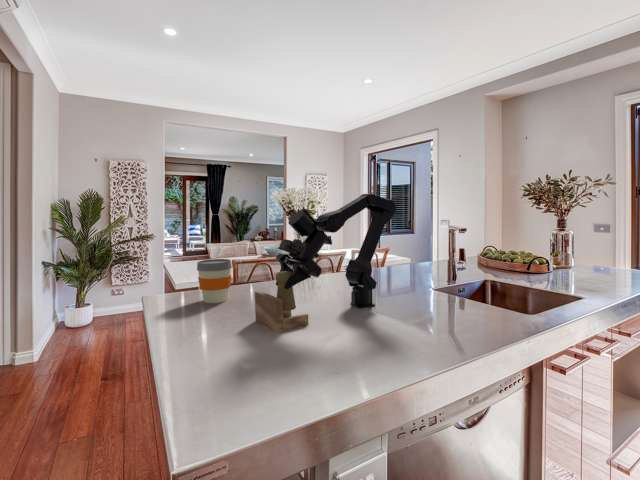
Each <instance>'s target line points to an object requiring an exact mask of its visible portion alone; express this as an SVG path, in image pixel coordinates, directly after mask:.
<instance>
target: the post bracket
mask: <svg viewBox="0 0 640 480" xmlns="http://www.w3.org/2000/svg"><path fill="white" fill-rule="evenodd" d="M254 303H255V304H254V306H255V307H254V308H255V309H254V310H255V321H256V322H257V323H259V324H261V325H262V326H263V327H265V328H267V329H269V330H270V331H271V332H273V333H274V334H281V333H284V331H287V330H290V329H295V328H298V327H303V326H307V325H309V314H308V313H306V312H305V313H301V314H296V315H293V316H292V310H289V311H283V302H282V300H281V299H279V298H277V296H275V295H271V294H269V293H268V292H265V291H262V290H258V291H257V290H256V291H254Z"/></svg>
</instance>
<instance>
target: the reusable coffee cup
mask: <svg viewBox="0 0 640 480" xmlns="http://www.w3.org/2000/svg"><path fill="white" fill-rule="evenodd" d="M196 270H197V272H198V277H197V278H198V284H199V289H200V290H201V293H202V298H203V303H205V304H220V303H221V304H222V303H225V302H226V301H229V292H230V288H231V283H232V274H231V272H232V271H231V270H232V261H231V259H230V258H229V259H226V258H212V259H204V260H199V261H197V263H196Z"/></svg>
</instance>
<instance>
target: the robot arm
mask: <svg viewBox="0 0 640 480" xmlns="http://www.w3.org/2000/svg"><path fill="white" fill-rule="evenodd" d="M365 209H367V210H368V211H370V212H369V213H370V214H369V215H370V219H371V221H370V224H369V226H368V229H367V231H366V234H365V237H364V239H363V242H362V243H361V247H360V249H359V252H358V254H357V257H356V258H355V259H350V260H349V261H348V264H347V266H346V268H345V270H344V271H345V278H346V280H347V282H348V286H350V287H352V289H351V293H350V294H351V296H350V297H351V298H350V299H351V301H350V305H352V306H354V307H356V308H358V309H359V308H360V309H361V308H366V307H367V308H368V307H373V306H376V303H374V302H373V290H375V289H376V288H377V284H378V283H377V281H376V279H374V278H373V276H372V273H373V267H372V260H373V258H374V254H375V252H376V250H377V247H378V244H379V242H380V239H381V236H382V234H383V230H384V228H385V226H386V225H387V224H388V223H389V222H391V220H392V219H393V217H394V215H395V213H396V211H397V206H396V203H395V202H394V200H392V199H387V198H385V197H381V196H377V194H373V193H363V194H361V195H359V196H358V197H357V198H355V199H354V200H352V201H350V202H348V203H346V204H345V205H344V206H342V207H340V208H339V209H336V210H333V211H328V212H326V213H323V214H320V215H318V217H317V218H314V217H313V216H312V215H311V214H310V213H309V211H308V210H307V209H306V208H301V209H300V210H299V211H297V212H295V214H293V215H291V217H289V220H288V224H289V226H290V227H291V228H292V229H293V230H294V231H295V232H296V233H297V234H298V235H299V237H305V239H303V241H302V240H300V239H299V238H298V239H296V238H294V239H293V240H289V239H285V238H284V239H283V238H282V239H281V241H280V243H279V247H278V250H279V251H284V252H287V253H283V252H281V253H278V254H277V255H276V256H275V260H276V261H277V262H278V263H279V264H280V270H279V272H281V271H289V272H292V274H291V276H290V277H289V279H288V281H287V282H286V284H285V286H284V288H285V289H289V288H290V287H294V286H296V285H297V284H300V283H301V282H303V281H305V280H307V279H311V278H312V277H313V278H317V279H318V278H319V277H320V276H321V274H322V267H321V266H320V265H319V264H318V263H317V262H316V261H315V260H314V259H315V258H316V259H318V258H319V256H320V255H319V252H320V251H321V249H322V248H323V247H324V246H325V245H331V246H332V245H333V240H332V235H327V234H326V233H333V234H334V233H337V232H338V231H339V230H340V229H342V228H343V226H344V225H345V223H346V222H347V221H348V220H350V219H351V218H352V217H354V216H355V215H358V213H360V212H362V211H363V210H365ZM275 285H276V287H278V282H277V281H276V280H275Z"/></svg>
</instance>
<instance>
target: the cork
mask: <svg viewBox="0 0 640 480" xmlns="http://www.w3.org/2000/svg"><path fill="white" fill-rule="evenodd" d="M291 274H292V272H289V271H281V272H280V271H279V272H277V273H276V275H275V282H276V281H277V282H278V286H277V289H276V297H277V298H279V299H281V300H282V302H283V311H289V310H291V311H292V310H295V309H296V308H297V306H296V301H295V294H294V289H293V287H294V286H292V287H290V288H289V289H285V288H284V286H285V284H286V282H287V281H288V279H289V277H290V276H291Z"/></svg>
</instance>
